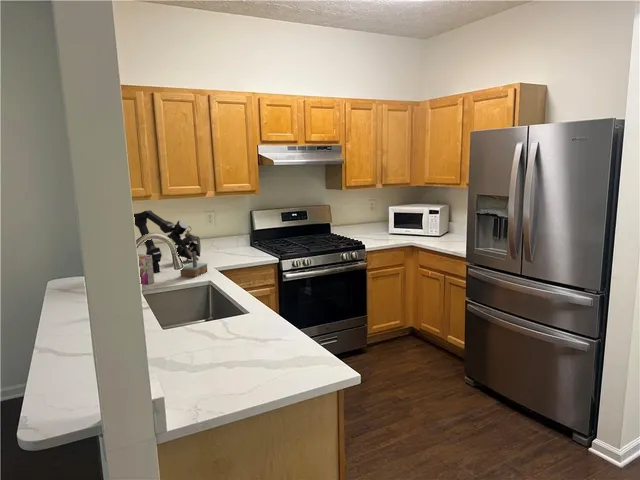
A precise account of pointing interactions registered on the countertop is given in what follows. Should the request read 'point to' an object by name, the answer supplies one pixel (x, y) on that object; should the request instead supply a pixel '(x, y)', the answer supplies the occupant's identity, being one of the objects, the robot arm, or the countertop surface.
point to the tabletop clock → (192, 241)
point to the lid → (194, 263)
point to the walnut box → (193, 272)
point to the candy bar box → (146, 269)
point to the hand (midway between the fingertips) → (195, 257)
